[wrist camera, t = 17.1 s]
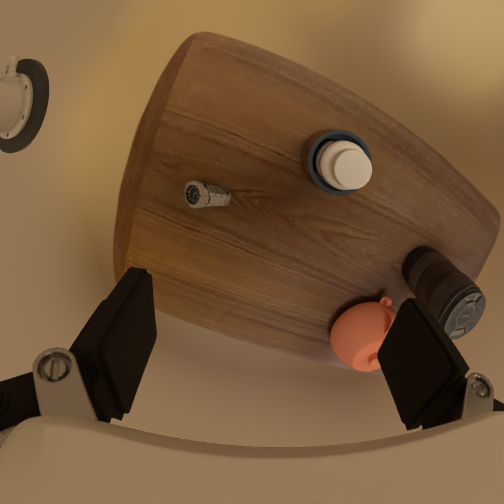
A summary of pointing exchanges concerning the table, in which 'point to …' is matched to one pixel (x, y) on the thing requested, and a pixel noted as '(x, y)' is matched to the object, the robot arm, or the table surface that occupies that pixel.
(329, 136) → the cup
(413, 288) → the camera lens
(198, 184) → the wristwatch
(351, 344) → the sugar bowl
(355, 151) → the pill bottle
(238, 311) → the table surface
